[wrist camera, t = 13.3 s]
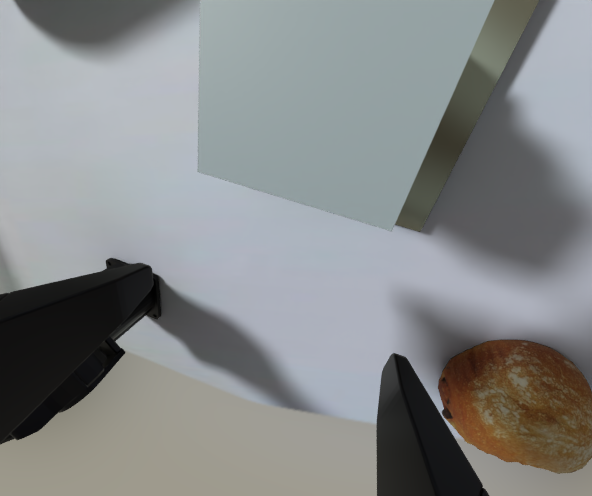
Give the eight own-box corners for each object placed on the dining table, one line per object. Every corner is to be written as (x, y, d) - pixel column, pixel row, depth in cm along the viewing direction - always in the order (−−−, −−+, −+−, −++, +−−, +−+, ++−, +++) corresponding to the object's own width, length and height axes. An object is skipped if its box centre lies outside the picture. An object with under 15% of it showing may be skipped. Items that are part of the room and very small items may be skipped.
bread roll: (547, 375, 25) (670, 459, 17) (457, 434, 26) (536, 540, 18) (501, 300, 23) (618, 355, 15) (405, 366, 24) (469, 452, 16)
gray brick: (387, 188, 9) (391, 231, 6) (259, 152, 10) (197, 171, 7) (460, 6, 7) (539, -102, 3) (282, -25, 8) (201, -139, 4)
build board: (418, 226, 18) (429, 260, 14) (251, 175, 20) (216, 192, 16) (543, -24, 12) (635, -100, 8) (280, -65, 14) (235, -145, 9)
